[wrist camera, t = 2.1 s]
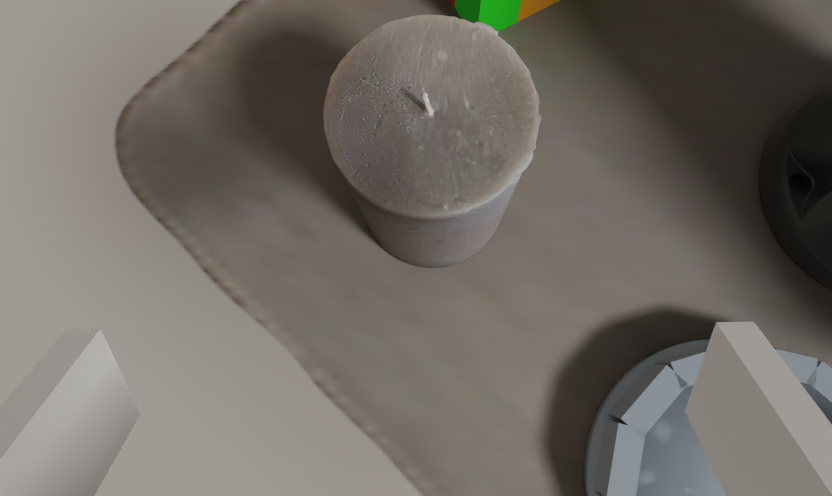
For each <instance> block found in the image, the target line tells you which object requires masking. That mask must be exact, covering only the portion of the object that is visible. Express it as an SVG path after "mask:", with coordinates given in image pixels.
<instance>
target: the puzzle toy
mask: <svg viewBox="0 0 832 496" xmlns="http://www.w3.org/2000/svg"><path fill="white" fill-rule="evenodd" d="M450 1H451V3H452V4H453V6H454V8H455V9H456V11H457V12H458V14H459V16H460V17H461V19H465V20H467V21H470V22H471V23H475V22H481V23H485V24H486V25H489V26H491V27H492V28H493V29H494V30H496V31H498V32H499V31H501V30H503V29H505V28H507V27H509V26H511V25H513V24H515V23H517V22H519V21H521V20H523V19H524V18H526V17H528V16H530V15H532V14H534V13H536V12H538V11H540V10H542V9H544V8H546V7H548V6H550V5H552V4H554V3H556V2H558V1H560V0H450Z"/></svg>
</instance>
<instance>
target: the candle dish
mask: <svg viewBox="0 0 832 496" xmlns="http://www.w3.org/2000/svg"><path fill="white" fill-rule="evenodd" d="M709 341H710V339H705V340H694V341H688V342H684V343H679V344H675V345H672V346H669V347H667V348H664V349H661V350H659V351H657V352H655V353H653V354H651V355H649V356H647V357H646V358H644V359H642V360H641V361H639V362H638V363H637V364H635V365H634V366H633V367H631V368H630V369H629V370H628V371H627V372H626V373H625V374H624V375H623V376H622V377H621V378H620V379H619V380H618V381H617V382H616V383H615V384H614V386H613V387H612V388H611V390H610V391H609V392H608V394H607V395H606V396H605V398H604V400H603V402H602V403H601V405H600V407H599V409H598V411H597V413H596V415H595V418H594V421H593V423H592V426H591V428H590V432H589V437H588V441H587V445H586V452H585V462H584V484H585V492H586V496H726V494H725V492H724V490H723V488H722V486H721V484H720V482H719V480H718V478H717V476H716V474H715V472H714V470H713V468H712V466H711V464H710V462H709V460H708V458H707V456H706V454H705V452H704V450H703V448H702V445H701V443H700V441H699V439H698V437H697V435H696V433H695V431H694V429H693V427H692V425H691V423H690V421H689V419H688V417H687V415H686V413H685V409H686V406H687V403H688V400H689V397H690V395H691V392H692V389H693V386H694V383H695V380H696V378H697V375H698V372H699V369H700V366H701V364H702V361H703V358H704V355H705V352H706V349H707V347H708V344H709ZM773 348H774V347H773ZM774 349H775V350H776V352H777V353H778V354H779V356H780V357H781V358H782V359H783V361H784V362H785V363H786V365H787V366H788V367H789V369H790V370H791V371H792V373H793V374H794V375H795V377H796V378H797V379H798V381H799V382H800V383H801V384H802V386H803V387H804V388H805V390H806V391H807V392H808V394H809V395H810V396H811V398H812V399H813V400H814V402H815V403H816V404H817V406H818V407H819V408H820V409H821V411H822V412H823V413H824V415H825V416H826V417H827V419H828V420H829V421H830V423H831V424H832V368H831V367H829V366H828V365H827V364H826V363H825V362H823V361H818V358H813V357H809V356H805V355H800V354H796V353H791V352H787V351H783V350H779V349H777V348H774Z"/></svg>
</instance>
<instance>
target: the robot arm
mask: <svg viewBox="0 0 832 496" xmlns="http://www.w3.org/2000/svg"><path fill="white" fill-rule="evenodd" d="M760 192H761V198H762V203H763V207H764V210H765V214H766V217H767V219H768V221H769V224H770V226H771V228H772V230H773V232H774V234H775V236H776V237H777V239H778V241H779V242H780V244H781V245H782V246H783V248H784V249H785V250H786V252H787V253H788V254H789V255H790V257H791V258H792V259H793V260H794V261H795V262H796V263H797V264H798V265H799V266H800V267H801V268H802V269H803V270H804V271H806V272H807V273H808V274H809V275H810V276H812V277H813V278H815V279H816V280H817V281H819V282H820V283H822V284H823V285H825V286H827V287H828V288H830V289H832V83H830V84H828V85H826V86H825V87H823V88H821V89H820V90H818V91H817V92H815V93H814V94H812V95H811V96H810V97H808V98H807V99H805V100H804V101H803V102H801V103H800V104H798V105H797V106H796V107H794V108H793V109H792V110H791V111H790V112H789V113H788V114H787V115H786V116H785V117H784V118H783V119H782V120H781V121H780V122H779V124H778V125H777V126H776V128H775V129H774V131H773V132H772V134H771V136H770V138H769V140H768V142H767V144H766V147H765V150H764V153H763V157H762V161H761V167H760ZM685 413H686V415H687V417H688V419H689V421H690V423H691V425H692V427H693V429H694V431H695V433H696V435H697V437H698V439H699V441H700V443H701V445H702V448H703V450H704V452H705V454H706V456H707V458H708V460H709V462H710V464H711V466H712V468H713V470H714V472H715V474H716V476H717V478H718V480H719V482H720V484H721V486H722V488H723V490H724V492H725V494H726V496H832V424H831V423H830V421H829V420H828V419H827V417H826V416H825V415H824V413H823V412H822V411H821V409H820V408H819V407H818V406H817V404H816V403H815V402H814V400H813V399H812V398H811V396H810V395H809V394H808V392H807V391H806V390H805V388H804V387H803V386H802V384H801V383H800V382H799V381H798V379H797V378H796V377H795V375H794V374H793V373H792V371H791V370H790V369H789V367H788V366H787V365H786V363H785V362H784V361H783V359H782V358H781V357H780V356H779V354H778V353H777V352H776V350H775V349H774V348H773V346H772V345H771V344H770V342H769V341H768V340H767V338H766V337H765V336H764V334H763V333H762V332H761V331H760V329H759V328H758V327H757V325H756V324H755V323H754V322H716V324H715V327H714V330H713V332H712V335H711V338H710V341H709V344H708V347H707V349H706V352H705V355H704V358H703V361H702V364H701V366H700V369H699V372H698V375H697V378H696V380H695V383H694V386H693V389H692V392H691V395H690V397H689V400H688V403H687V406H686V409H685ZM139 415H140V412H139V410H138V408H137V406H136V404H135V401H134V399H133V397H132V395H131V393H130V391H129V389H128V387H127V384H126V382H125V380H124V378H123V376H122V374H121V372H120V370H119V368H118V366H117V363H116V361H115V359H114V357H113V355H112V353H111V351H110V349H109V346H108V344H107V342H106V340H105V338H104V336H103V334H102V332H101V330H100V329H66V330H65V331H64V332H63V333H62V335H61V336H60V337H59V338H58V340H57V341H56V342H55V343H54V344H53V345H52V346H51V348H50V349H49V350H48V351H47V352H46V354H45V355H44V356H43V357H42V358H41V359H40V361H39V362H38V363H37V364H36V365H35V367H34V368H33V369H32V370H31V371H30V372H29V374H28V375H27V376H26V377H25V378H24V380H23V381H22V382H21V383H20V384H19V386H18V387H17V388H16V389H15V390H14V391H13V393H12V394H11V395H10V396H9V397H8V398H7V400H6V401H5V402H4V403H3V404H2V406H1V407H0V496H94V495H95V493H96V491H97V489H98V488H99V486H100V484H101V482H102V481H103V479H104V477H105V475H106V474H107V472H108V470H109V468H110V466H111V465H112V463H113V461H114V459H115V458H116V456H117V454H118V452H119V451H120V449H121V447H122V445H123V443H124V442H125V440H126V438H127V436H128V435H129V433H130V431H131V429H132V427H133V426H134V424H135V422H136V420H137V419H138V417H139Z"/></svg>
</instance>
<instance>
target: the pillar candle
mask: <svg viewBox="0 0 832 496" xmlns="http://www.w3.org/2000/svg"><path fill="white" fill-rule="evenodd" d="M538 106H539V95H538V93H537V92H536V89H535V86H534V83H533V81H532V79H531V76H530V71H529V69H528V68H527V67H526V65H525V64H524V63H523V61H522V60H521V58H520V57H519V56H518V54H517V53H516V51H515V50H514V49H513V47H511V46H510V45H509V44H507V43H506V42H505V41H504V40H503V39H502V38H500V37H499V36H498V31H496V30H494V29H493V28H492V27H491V26H489V25H486V24H485V23H481V22H475V23H471V22H470V21H467V20H465V19H459V18H457V17H454V16H445V15H430V14H425V15H415V16H409V17H405V18H401V19H396V20H393V21H390V22H387V23H385V24H383V25H381V26H379V27H378V28H376V29H374V30H373V31H371V32H370V33H368V34H367V35H365V36H364V37H363V38H362V39H360V40H359V41H358V42H357V43H356V44H355V45H354V46H353V47H352V48H351V49H350V50H349V51H348V53H347V54H346V55H345V56H344V57H343V59H342V60H341V61H340V62H339V64H338V66H337V68H336V70H335V71H334V73H333V74H332V75H331V77H330V82H329V85H328V88H327V92H326V96H325V100H324V105H323V129H324V136H325V142H326V145H327V148H328V151H329V153H330V156H331V158H332V160H333V163H334V165H335V167H336V169H337V170H338V172H339V173H340V175H341V178H342V179H343V181H344V183H345V185H346V186H347V188H348V190H349V192H350V194H351V196H352V198H353V200H354V201H355V203H356V205H357V207H358V208H359V209H360V211H361V214H362V216H363V218H364V219H365V221H366V224H367V227H368V228H369V230H370V232H371V233H372V234H373V235H374V237H375V239H376V240H377V242H378V243H379V245H380V246H381V247H382V248H383V249H384V250H385V251H387V252H388V253H389V254H390V255H392V256H393V257H395V258H396V259H398V260H400V261H402V262H405V263H408V264H411V265H414V266H418V267H426V268H439V267H448V266H450V265H454V264H457V263H460V262H462V261H464V260H466V259H468V258H470V257H471V256H473V255H474V254H476V253H477V252H478V251H480V250H481V249H482V248H483V247H484V246H485V245H486V244H487V243H488V241H489V240H490V239H491V237H492V236H493V234H494V233H495V231H496V229H497V227H498V225H499V222H500V220H501V218H502V216H503V214H504V212H505V210H506V208H507V205H508V203H509V201H510V199H511V197H512V194H513V192H514V190H515V188H516V185H517V183H518V181H519V178H520V176H521V174H522V172H523V171H524V170H525V169H526V168H527V167H528V165H529V164H530V162H531V160H532V157H533V150H534V149H535V148H536V144H535V143H536V139H537V133H538V129H539V124H540V122H541V117H542V116H541V115H540V114H539V112H538Z"/></svg>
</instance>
